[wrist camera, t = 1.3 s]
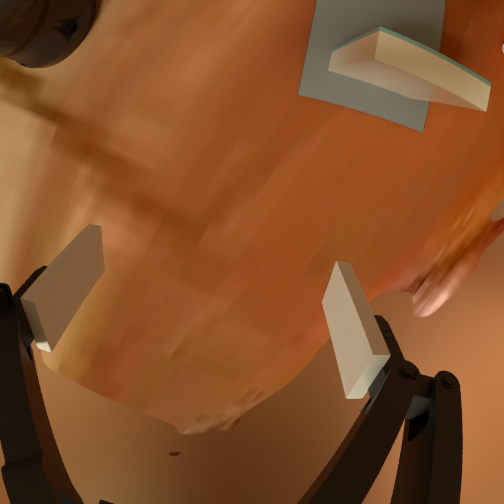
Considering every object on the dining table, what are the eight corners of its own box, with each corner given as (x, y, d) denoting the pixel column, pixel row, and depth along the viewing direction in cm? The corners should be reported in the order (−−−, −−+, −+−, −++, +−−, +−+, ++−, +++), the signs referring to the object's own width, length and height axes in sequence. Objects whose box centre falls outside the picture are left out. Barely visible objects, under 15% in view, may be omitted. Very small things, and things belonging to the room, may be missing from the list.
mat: (420, 132, 36) (422, 132, 36) (297, 94, 35) (298, 94, 34) (444, -9, 25) (446, -10, 24) (327, -57, 23) (328, -58, 23)
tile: (411, 98, 34) (486, 111, 20) (328, 70, 33) (374, 59, 19) (415, 79, 32) (491, 83, 18) (332, 49, 31) (380, 26, 17)
